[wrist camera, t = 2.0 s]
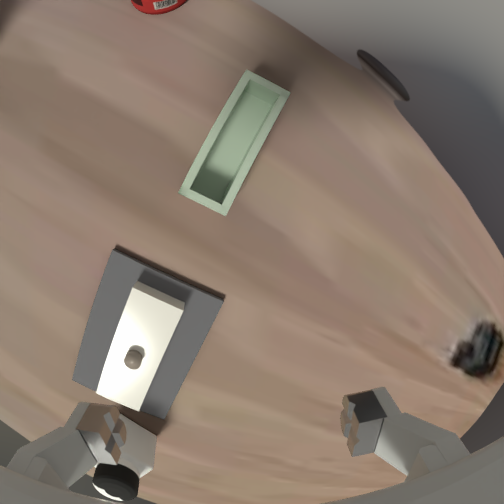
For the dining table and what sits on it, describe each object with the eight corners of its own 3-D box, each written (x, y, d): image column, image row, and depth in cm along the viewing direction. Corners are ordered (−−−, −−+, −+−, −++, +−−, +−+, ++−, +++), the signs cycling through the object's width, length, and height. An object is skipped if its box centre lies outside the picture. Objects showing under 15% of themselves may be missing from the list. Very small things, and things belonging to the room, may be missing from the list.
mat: (74, 376, 35) (72, 379, 34) (114, 248, 33) (112, 249, 32) (164, 416, 38) (164, 419, 37) (223, 299, 36) (223, 301, 35)
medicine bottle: (118, 410, 37) (101, 470, 26) (158, 435, 39) (151, 495, 27) (97, 432, 37) (79, 487, 26) (134, 454, 39) (125, 510, 28)
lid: (100, 382, 35) (93, 398, 31) (137, 280, 33) (130, 290, 30) (141, 400, 36) (137, 417, 33) (184, 302, 35) (182, 315, 31)
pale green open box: (181, 192, 33) (178, 193, 28) (240, 85, 31) (246, 69, 27) (222, 212, 34) (225, 216, 29) (279, 105, 33) (290, 92, 28)
